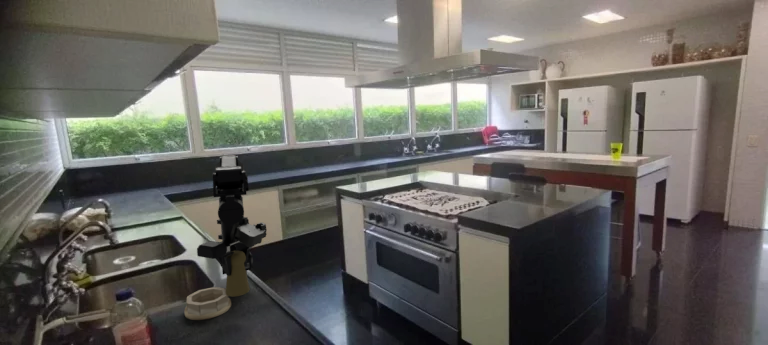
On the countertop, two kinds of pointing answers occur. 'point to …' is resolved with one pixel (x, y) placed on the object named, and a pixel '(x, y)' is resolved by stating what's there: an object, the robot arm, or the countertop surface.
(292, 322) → the countertop surface
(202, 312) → the dock socket
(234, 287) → the olive brown tapered peg
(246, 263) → the robot arm
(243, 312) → the countertop surface
